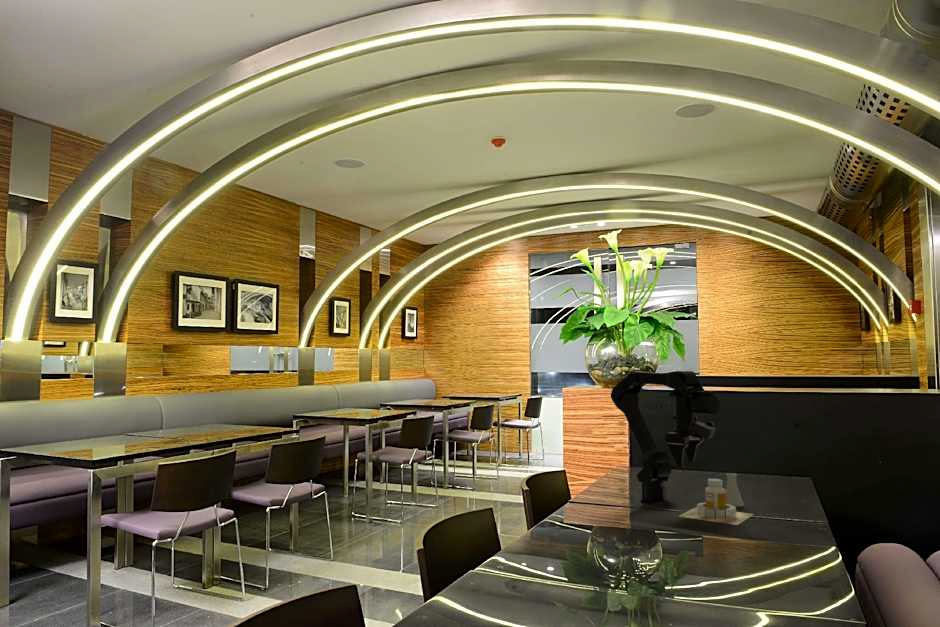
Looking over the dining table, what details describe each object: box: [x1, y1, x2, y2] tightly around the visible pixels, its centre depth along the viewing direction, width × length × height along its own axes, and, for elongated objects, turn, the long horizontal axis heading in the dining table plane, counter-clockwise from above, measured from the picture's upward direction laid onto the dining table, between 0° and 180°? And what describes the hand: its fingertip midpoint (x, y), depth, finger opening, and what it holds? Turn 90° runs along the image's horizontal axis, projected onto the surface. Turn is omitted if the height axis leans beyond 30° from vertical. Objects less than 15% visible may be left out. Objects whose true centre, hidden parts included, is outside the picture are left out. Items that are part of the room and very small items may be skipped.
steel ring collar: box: [696, 501, 737, 519], centre depth 186 cm, size 10×10×2 cm
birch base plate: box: [677, 506, 755, 526], centre depth 186 cm, size 16×16×1 cm
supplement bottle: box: [704, 478, 726, 509], centre depth 187 cm, size 5×5×10 cm
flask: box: [725, 472, 745, 508], centre depth 201 cm, size 7×7×10 cm
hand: (685, 465), depth 199 cm, fingers open, 9 cm apart
